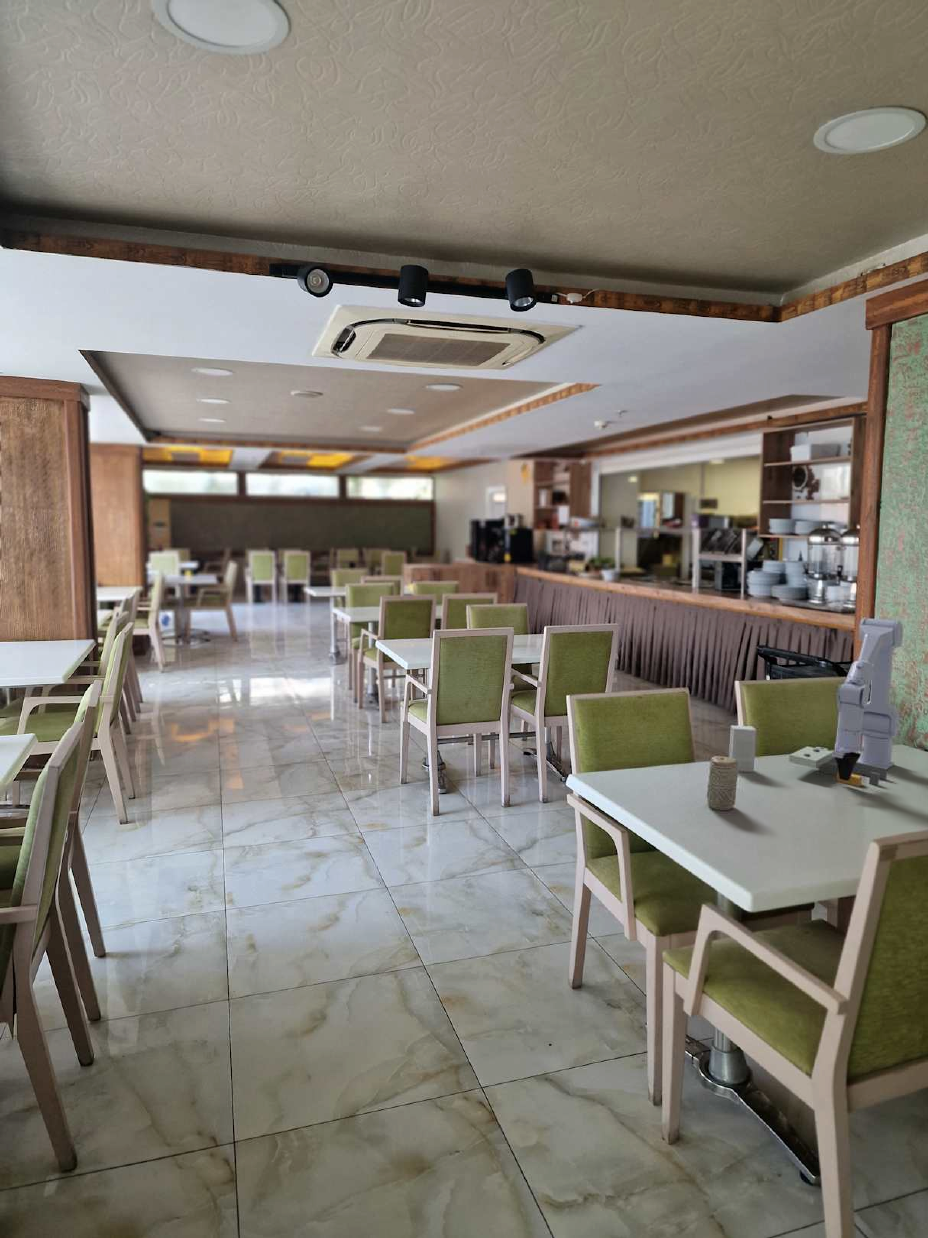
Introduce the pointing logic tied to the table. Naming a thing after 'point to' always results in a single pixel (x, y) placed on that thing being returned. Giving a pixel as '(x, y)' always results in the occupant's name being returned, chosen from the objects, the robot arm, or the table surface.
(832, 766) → the long grey beam
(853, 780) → the orange cuboid brick
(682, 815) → the table surface
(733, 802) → the carving
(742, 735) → the skincare box
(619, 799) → the table surface
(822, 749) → the cover
